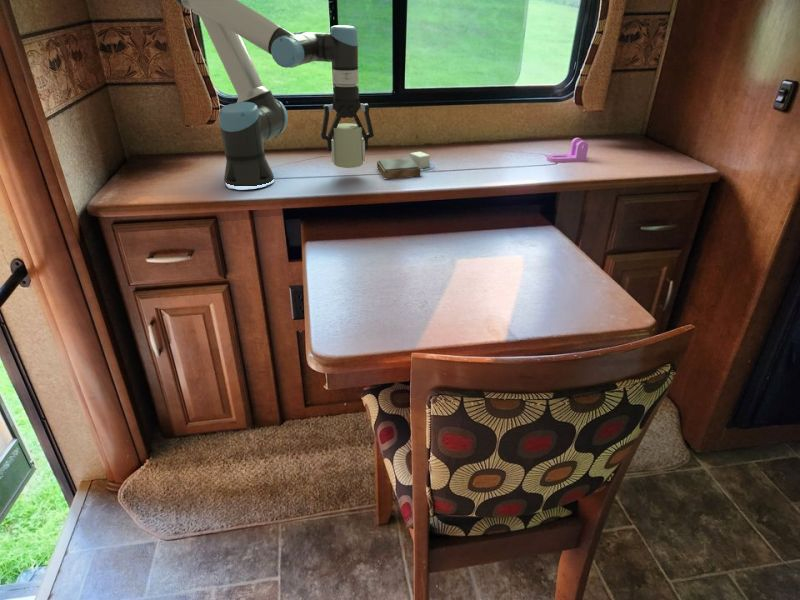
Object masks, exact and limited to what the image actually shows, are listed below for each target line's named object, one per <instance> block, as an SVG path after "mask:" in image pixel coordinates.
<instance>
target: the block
mask: <svg viewBox="0 0 800 600" xmlns="http://www.w3.org/2000/svg"><path fill="white" fill-rule="evenodd" d="M430 156H431V155H430V154H428V153H425V152H423V151H415V152H410V155H409V158H411V159H412V160H413V161H414V162H415V163H416V164H417V165H418V166H419V168H420V169H425V168H430V166H431V165H430V161H431V160H430V159H431V158H430Z"/></svg>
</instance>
